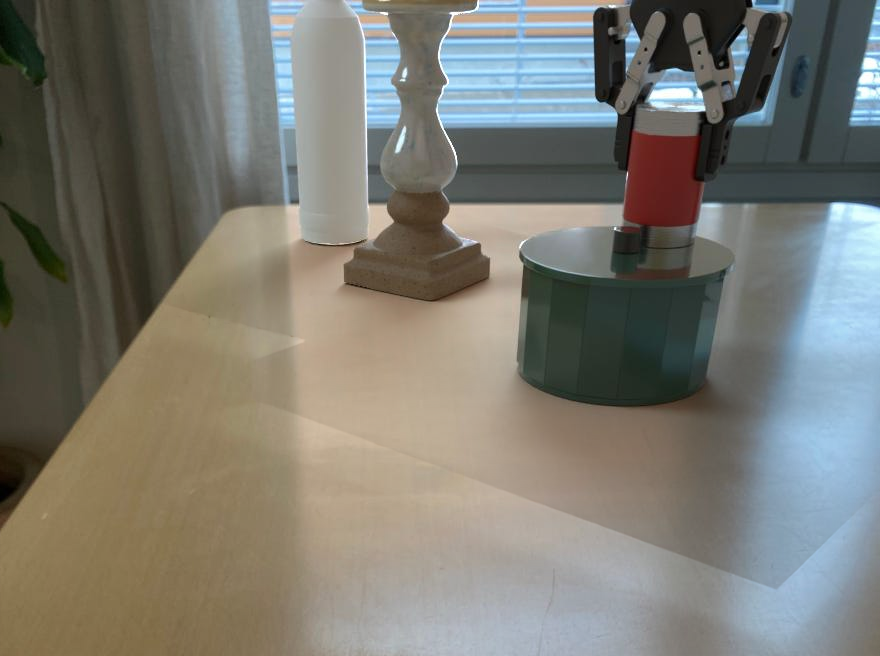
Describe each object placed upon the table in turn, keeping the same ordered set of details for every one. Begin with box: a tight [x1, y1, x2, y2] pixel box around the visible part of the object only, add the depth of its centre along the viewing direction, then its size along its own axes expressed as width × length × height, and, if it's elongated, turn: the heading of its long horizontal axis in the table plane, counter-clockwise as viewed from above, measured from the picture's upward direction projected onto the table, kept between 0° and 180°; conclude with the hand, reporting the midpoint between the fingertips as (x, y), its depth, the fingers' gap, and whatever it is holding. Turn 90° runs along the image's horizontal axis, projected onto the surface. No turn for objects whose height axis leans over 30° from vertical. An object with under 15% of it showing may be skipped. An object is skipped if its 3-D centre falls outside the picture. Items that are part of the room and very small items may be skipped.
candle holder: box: [343, 0, 491, 301], centre depth 91 cm, size 11×11×24 cm
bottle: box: [289, 0, 370, 244], centre depth 104 cm, size 8×8×30 cm
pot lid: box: [518, 225, 736, 289], centre depth 72 cm, size 16×16×3 cm
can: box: [620, 100, 709, 248], centre depth 72 cm, size 6×6×9 cm
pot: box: [516, 263, 726, 407], centre depth 75 cm, size 15×15×8 cm
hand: (665, 174), depth 72 cm, fingers closed on can, 5 cm apart
